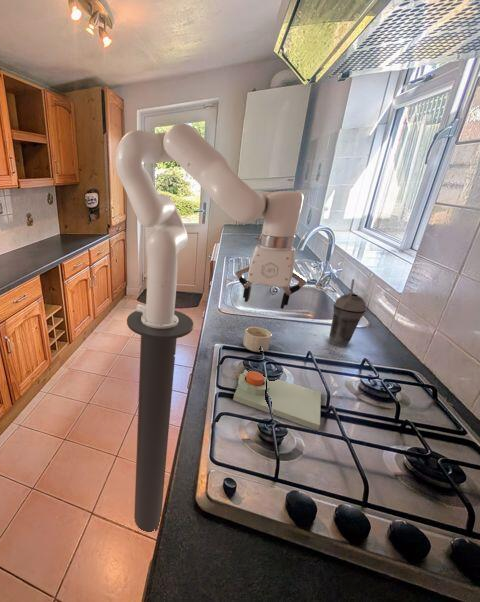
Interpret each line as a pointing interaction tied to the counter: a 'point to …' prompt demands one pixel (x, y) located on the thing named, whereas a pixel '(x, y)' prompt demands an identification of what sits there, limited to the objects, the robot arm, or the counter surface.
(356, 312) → the beverage cup
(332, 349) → the counter surface
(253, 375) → the button
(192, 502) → the counter surface
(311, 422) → the scale
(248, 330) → the bowl
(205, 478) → the counter surface
